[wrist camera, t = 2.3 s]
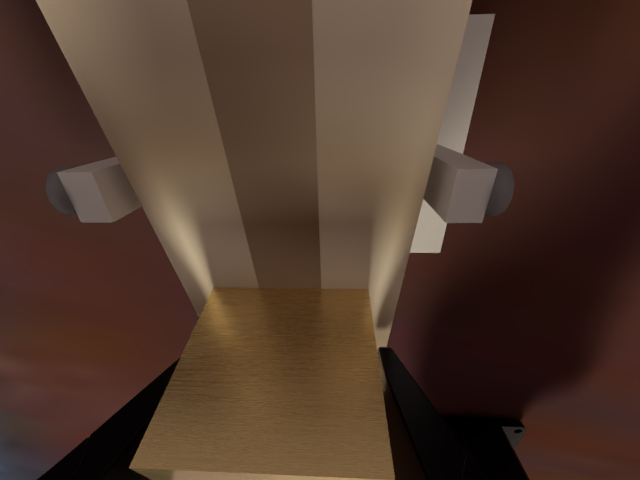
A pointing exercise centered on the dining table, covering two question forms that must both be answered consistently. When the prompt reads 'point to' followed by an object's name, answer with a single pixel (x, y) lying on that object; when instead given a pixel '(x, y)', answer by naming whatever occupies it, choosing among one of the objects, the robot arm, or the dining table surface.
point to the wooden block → (274, 392)
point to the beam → (272, 131)
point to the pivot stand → (441, 190)
